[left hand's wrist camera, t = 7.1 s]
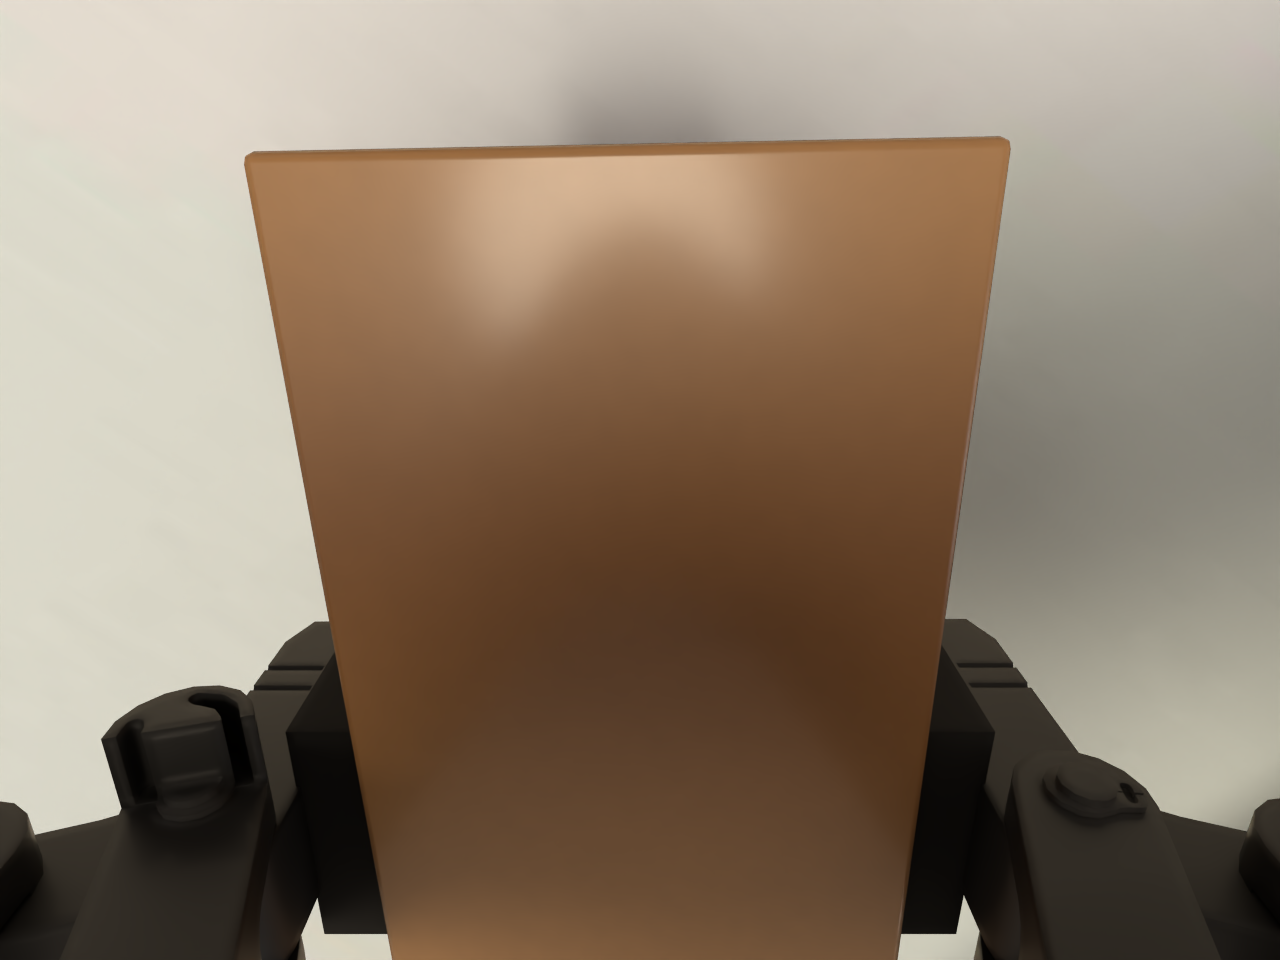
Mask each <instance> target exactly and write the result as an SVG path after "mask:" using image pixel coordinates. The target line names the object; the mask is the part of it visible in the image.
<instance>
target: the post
mask: <svg viewBox="0 0 1280 960" xmlns="http://www.w3.org/2000/svg"><path fill="white" fill-rule="evenodd" d="M1009 156H1010V143H1009V140H1007V139H1005V138H1003V137H1001V136H992V137H943V138H893V139H844V140H795V141H745V142H696V143H647V144H597V145H548V146H499V147H450V148H400V149H351V150H302V151H254V152H252V153H250V154H248V155H246V157H245V162H244V166H245V171H246V177H247V182H248V187H249V193H250V198H251V204H252V209H253V214H254V220H255V225H256V230H257V236H258V241H259V246H260V252H261V257H262V263H263V268H264V273H265V279H266V284H267V289H268V295H269V300H270V306H271V311H272V316H273V322H274V327H275V332H276V338H277V343H278V348H279V354H280V359H281V365H282V370H283V375H284V381H285V386H286V391H287V397H288V402H289V408H290V413H291V418H292V424H293V429H294V434H295V440H296V445H297V450H298V456H299V461H300V467H301V472H302V477H303V483H304V488H305V493H306V499H307V504H308V510H309V515H310V520H311V526H312V531H313V536H314V542H315V547H316V552H317V558H318V563H319V569H320V574H321V579H322V585H323V590H324V595H325V601H326V606H327V612H328V617H329V622H330V628H331V633H332V638H333V644H334V649H335V654H336V660H337V665H338V671H339V676H340V681H341V687H342V692H343V697H344V703H345V708H346V714H347V719H348V724H349V730H350V735H351V740H352V746H353V751H354V756H355V762H356V767H357V773H358V778H359V783H360V789H361V794H362V799H363V805H364V810H365V816H366V821H367V826H368V832H369V837H370V842H371V848H372V853H373V858H374V864H375V869H376V875H377V880H378V885H379V891H380V896H381V901H382V907H383V912H384V918H385V923H386V928H387V934H388V939H389V944H390V950H391V955H392V960H897V959H898V952H899V945H900V937H901V930H902V923H903V916H904V909H905V902H906V894H907V887H908V880H909V873H910V866H911V859H912V851H913V844H914V837H915V830H916V823H917V816H918V808H919V801H920V794H921V787H922V780H923V773H924V765H925V758H926V751H927V744H928V737H929V730H930V722H931V715H932V708H933V701H934V694H935V687H936V679H937V672H938V665H939V658H940V651H941V644H942V636H943V629H944V622H945V615H946V608H947V601H948V593H949V586H950V579H951V572H952V565H953V558H954V550H955V543H956V536H957V529H958V522H959V515H960V507H961V500H962V493H963V486H964V479H965V472H966V464H967V457H968V450H969V443H970V436H971V429H972V421H973V414H974V407H975V400H976V393H977V386H978V378H979V371H980V364H981V357H982V350H983V343H984V335H985V328H986V321H987V314H988V307H989V300H990V292H991V285H992V278H993V271H994V264H995V257H996V249H997V242H998V235H999V228H1000V221H1001V214H1002V206H1003V199H1004V192H1005V185H1006V178H1007V171H1008V163H1009Z"/></svg>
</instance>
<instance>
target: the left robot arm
mask: <svg viewBox="0 0 1280 960" xmlns="http://www.w3.org/2000/svg"><path fill="white" fill-rule="evenodd" d="M101 741H102V744H103V747H104V751H105V754H106V757H107V761H108V764H109V768H110V771H111V774H112V778H113V781H114V784H115V788H116V791H117V795H118V798H119V801H120V805H121V808H122V809H121V811H120V813H119V815H117V816H113V817H110V818H106V819H103V820H99V821H95V822H90V823H86V824H81V825H77V826H72V827H68V828H64V829H59V830H55V831H50V832H46V833H41V834H37V835H35V834H34V832H33V829H32V826H31V823H30V820H29V817H28V815H27V813H26V812H24V811H23V810H22V809H21V808H19V807H18V806H17V805H16V804H14V803H7V802H0V960H306V958H305V952H304V946H303V941H302V936H301V934H302V932H303V930H304V927H305V925H306V923H307V920H308V918H309V916H310V913H311V911H312V909H313V906H314V904H315V902H316V900H317V898H318V903H319V908H320V913H321V918H322V923H323V928H324V934H387V928H386V923H385V918H384V912H383V907H382V901H381V896H380V891H379V885H378V880H377V875H376V869H375V864H374V858H373V853H372V848H371V842H370V837H369V832H368V826H367V821H366V816H365V810H364V805H363V799H362V794H361V789H360V783H359V778H358V773H357V767H356V762H355V756H354V751H353V746H352V740H351V735H350V730H349V724H348V719H347V714H346V708H345V703H344V697H343V692H342V687H341V681H340V676H339V671H338V665H337V660H336V654H335V649H334V644H333V638H332V633H331V628H330V622H314V623H312V624H311V625H310V626H308V627H307V628H305V629H304V630H302V631H301V632H299V633H298V634H297V635H295V636H294V637H292V638H291V639H289V640H288V641H286V642H285V643H284V645H283V646H282V648H281V649H280V650H279V652H278V653H277V654H276V656H275V657H274V659H273V660H272V661H271V663H270V664H269V665H268V670H265V671H264V672H263V674H262V675H261V676H260V678H259V679H258V681H257V682H256V683H255V685H254V690H253V691H250V692H249V693H248V694H247V696H246V695H245V694H244V693H243V692H242V691H240V690H237V689H233V688H228V687H224V686H198V687H191V688H187V689H182V690H178V691H174V692H170V693H166V694H163V695H161V696H159V697H157V698H154V699H152V700H150V701H148V702H145V703H143V704H141V705H138V706H137V707H135V708H134V709H132V710H131V711H130V712H128V713H127V714H125V715H124V716H122V717H121V718H120V719H118V720H117V721H115V722H114V724H113V725H112V726H111V727H110V729H109V730H108V731H107V732H106V734H105V735H104V736H103V737H102V739H101ZM963 896H965V899H966V901H967V903H968V905H969V908H970V910H971V912H972V915H973V917H974V919H975V921H976V924H977V926H978V928H979V931H980V932H979V936H978V941H977V946H976V951H975V956H974V960H1280V798H1279V799H1272V800H1267V801H1266V802H1265V803H1263V804H1262V805H1261V806H1260V807H1258V808H1257V809H1256V810H1255V811H1254V814H1253V817H1252V820H1251V823H1250V826H1249V828H1248V831H1247V832H1246V831H1242V830H1237V829H1233V828H1228V827H1224V826H1219V825H1215V824H1210V823H1206V822H1201V821H1197V820H1192V819H1188V818H1183V817H1179V816H1176V815H1173V814H1169V813H1166V812H1162V811H1160V809H1159V807H1158V806H1157V804H1156V803H1155V801H1154V800H1153V798H1152V797H1151V796H1150V794H1149V793H1148V791H1147V790H1146V788H1144V787H1143V786H1142V785H1141V784H1139V783H1138V782H1137V781H1136V780H1134V779H1133V778H1132V777H1131V776H1129V775H1128V774H1127V773H1126V772H1124V771H1123V770H1121V769H1119V768H1117V767H1115V766H1113V765H1111V764H1109V763H1107V762H1105V761H1103V760H1101V759H1099V758H1095V757H1092V756H1088V755H1084V754H1081V753H1078V751H1077V750H1076V748H1075V747H1074V746H1073V744H1072V743H1071V742H1070V740H1069V739H1068V738H1067V736H1066V735H1065V733H1064V732H1063V731H1062V729H1061V728H1060V727H1059V725H1058V724H1057V723H1056V721H1055V720H1054V718H1053V717H1052V716H1051V714H1050V713H1049V712H1048V710H1047V709H1046V708H1045V706H1044V705H1043V703H1042V702H1041V701H1040V699H1039V698H1038V697H1037V695H1036V694H1035V692H1034V691H1033V690H1032V688H1028V686H1027V682H1026V680H1025V679H1024V677H1023V676H1022V675H1021V673H1020V672H1019V671H1018V669H1017V668H1013V662H1012V661H1011V660H1010V658H1009V657H1008V656H1007V654H1006V653H1005V652H1004V650H1003V649H1002V647H1001V646H1000V645H999V643H998V642H997V641H996V639H994V638H993V637H991V636H990V635H988V634H987V633H986V632H984V631H983V630H981V629H980V628H978V627H977V626H975V625H974V624H972V623H971V622H969V621H968V620H967V619H945V622H944V629H943V636H942V644H941V651H940V658H939V665H938V672H937V679H936V687H935V694H934V701H933V708H932V715H931V722H930V730H929V737H928V744H927V751H926V758H925V765H924V773H923V780H922V787H921V794H920V801H919V808H918V816H917V823H916V830H915V837H914V844H913V851H912V859H911V866H910V873H909V880H908V887H907V894H906V902H905V909H904V916H903V923H902V930H901V934H956V932H957V927H958V921H959V916H960V911H961V906H962V901H963Z"/></svg>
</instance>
